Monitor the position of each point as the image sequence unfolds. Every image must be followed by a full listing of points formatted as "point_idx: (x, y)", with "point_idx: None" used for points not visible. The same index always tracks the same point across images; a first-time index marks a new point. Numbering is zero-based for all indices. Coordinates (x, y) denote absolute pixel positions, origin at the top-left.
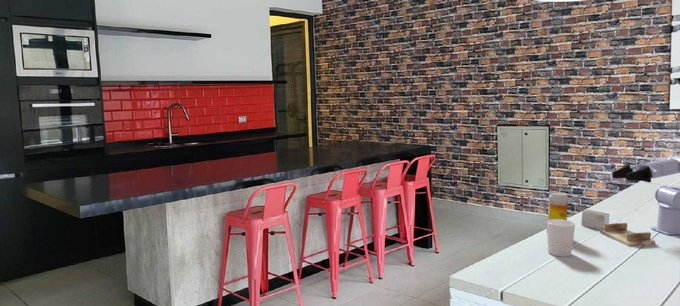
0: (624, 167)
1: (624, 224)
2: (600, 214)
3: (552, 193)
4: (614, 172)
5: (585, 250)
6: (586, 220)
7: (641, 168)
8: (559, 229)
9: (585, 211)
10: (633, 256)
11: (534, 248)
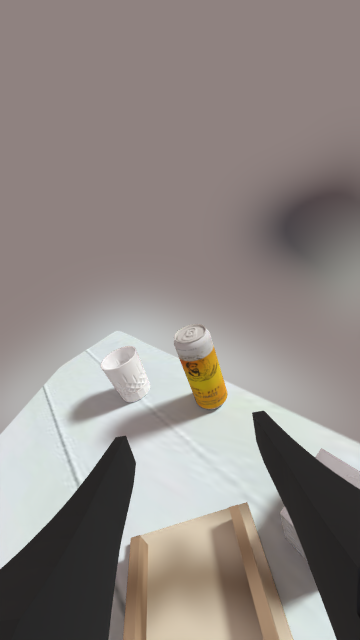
0: (307, 490)
1: (258, 618)
2: None
3: (198, 327)
4: (255, 420)
5: (136, 426)
6: None
7: (50, 556)
8: (109, 359)
9: (324, 458)
10: None
11: (159, 369)
